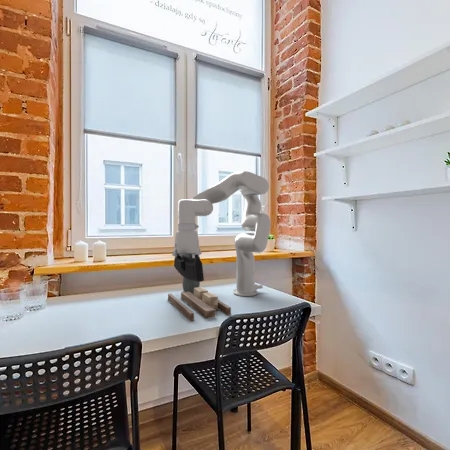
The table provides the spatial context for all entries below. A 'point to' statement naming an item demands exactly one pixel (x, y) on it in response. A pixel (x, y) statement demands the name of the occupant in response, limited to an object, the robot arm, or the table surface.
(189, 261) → the magazine
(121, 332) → the table surface
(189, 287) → the bottle
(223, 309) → the rack
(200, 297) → the offcut
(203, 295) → the offcut
